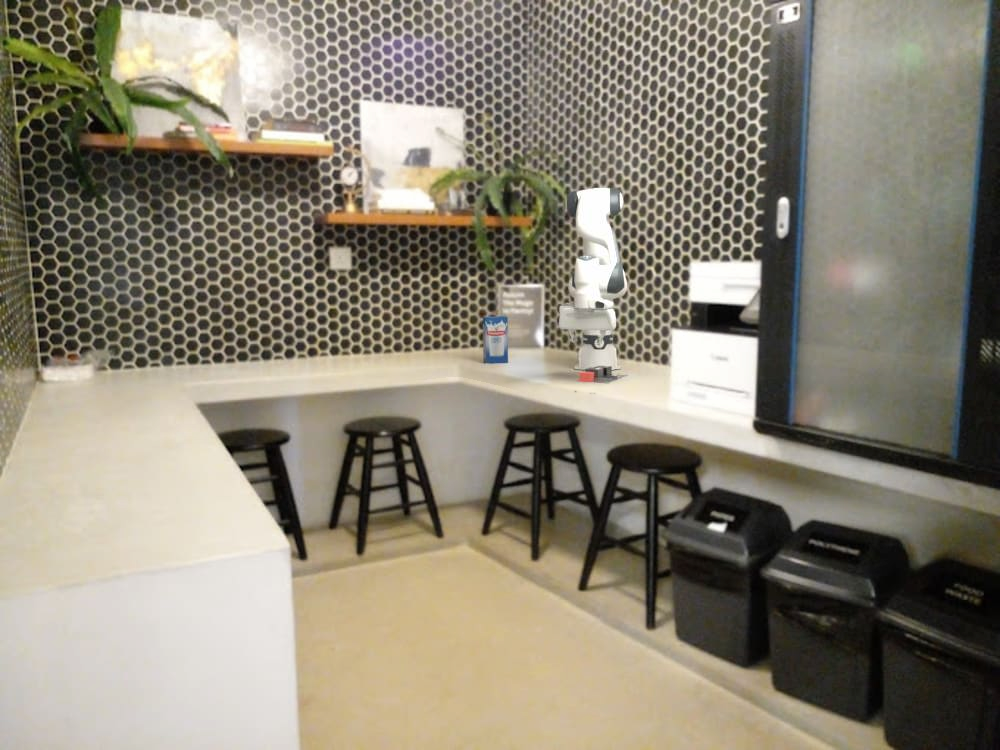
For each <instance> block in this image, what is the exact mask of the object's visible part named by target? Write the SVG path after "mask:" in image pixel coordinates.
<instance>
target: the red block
mask: <svg viewBox="0 0 1000 750" xmlns="http://www.w3.org/2000/svg"><path fill="white" fill-rule="evenodd" d="M578 380H579V381H581V382H580V383H593V382H592V381H594V372H585V371H581V372H579V373H578Z"/></svg>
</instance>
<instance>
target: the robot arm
mask: <svg viewBox="0 0 1000 750" xmlns="http://www.w3.org/2000/svg"><path fill="white" fill-rule="evenodd" d="M564 205H565V211H566V213H567V215H568V216H569V217H570V218H573V219H575V227H576V228H575V229H576V232H577V234H578V235H579V237H581V238H582V242H583V245H582V247H583V248H582V249H583V251H582V252H583V255H580V256H578V257H577V258H576V260H575V267H574V270H573V271H572V272H571V278H570V279H569V282H568V292H569V294H570V296H571V297H572V298H573V299H574V302H563V303H561V305H560V306H559V310H558V311H559V319H558V327H559V329H561V330H568V334H569V336H570V338H571V343H573V344H574V343H578V337H577V336H575V334H574V333H575V330H577V331H579V330H580V331H581V330H583V334H582V343H583V344H582V346H581V347H580V348H579V350H578V351H577V363H576V364H575V365H574V367H573V368H574V370H582V371H585V369H587V368H590V367H593V368H594V367H596V366H612V371H614V370H620V369H622V367H621V365H618V364H617V362H618V361H617V348H616V347H615V346H614V345H613V342H614V337H613V335H614V334H612V331H614V330H615V329H616V327H617V318H616V317H617V316H616V311H615V310H614V309H613V308H614V306H615V305H614V302H613V301H612V300H614V299H619V298H622V297H623V296H625V294H626V292H627V290H628V280H627V278H626V274H625V271H624V268H623V267H624V266H623V263H622V257H621V253H620V248H619V242H618V239H617V235H616V231H615V229H614V228H613V227H611V222H610V218H609V217H611V220H614V219H615V217H616V216H617V215H619V214H620V213H621V212H622V209H623V205H624V196H623V194H622V193H621V190H620V189H619V188H617V187H593V188H589V189H582V190H573V191H570V192H569V193H568V194H567V195H566V198H565V204H564ZM610 300H611V301H610Z"/></svg>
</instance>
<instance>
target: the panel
mask: <svg viewBox="0 0 1000 750" xmlns="http://www.w3.org/2000/svg"><path fill="white" fill-rule="evenodd" d="M594 368H603V378H597V377H594V381H592V382H591V383H596V384H597V383H598V384H610V383H612V382H615V381H618V380H620V379H624V378H625V377H628V376H629V375H628V374H617V373H615V374H614V373H612V371H613V370H612V366H596V367H594ZM576 382H580V383H582V382H581V381H579V379H578V380H576Z"/></svg>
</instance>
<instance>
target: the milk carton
mask: <svg viewBox="0 0 1000 750" xmlns="http://www.w3.org/2000/svg"><path fill="white" fill-rule="evenodd" d="M508 318H509V317H508V316H502V315H501V316H482V341H483V342H482V346H483V347H482V350H483V351H482V352H483V355H482V356H483V357H482V358H483V363H484V362H485V364H486V363H490V364H508V363H509V346H508V345H509V343H508V342H509V333H508V332H509V331H508V329H509V328H508V326H509V324H508V323H509V322H508V321H509V319H508Z"/></svg>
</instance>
